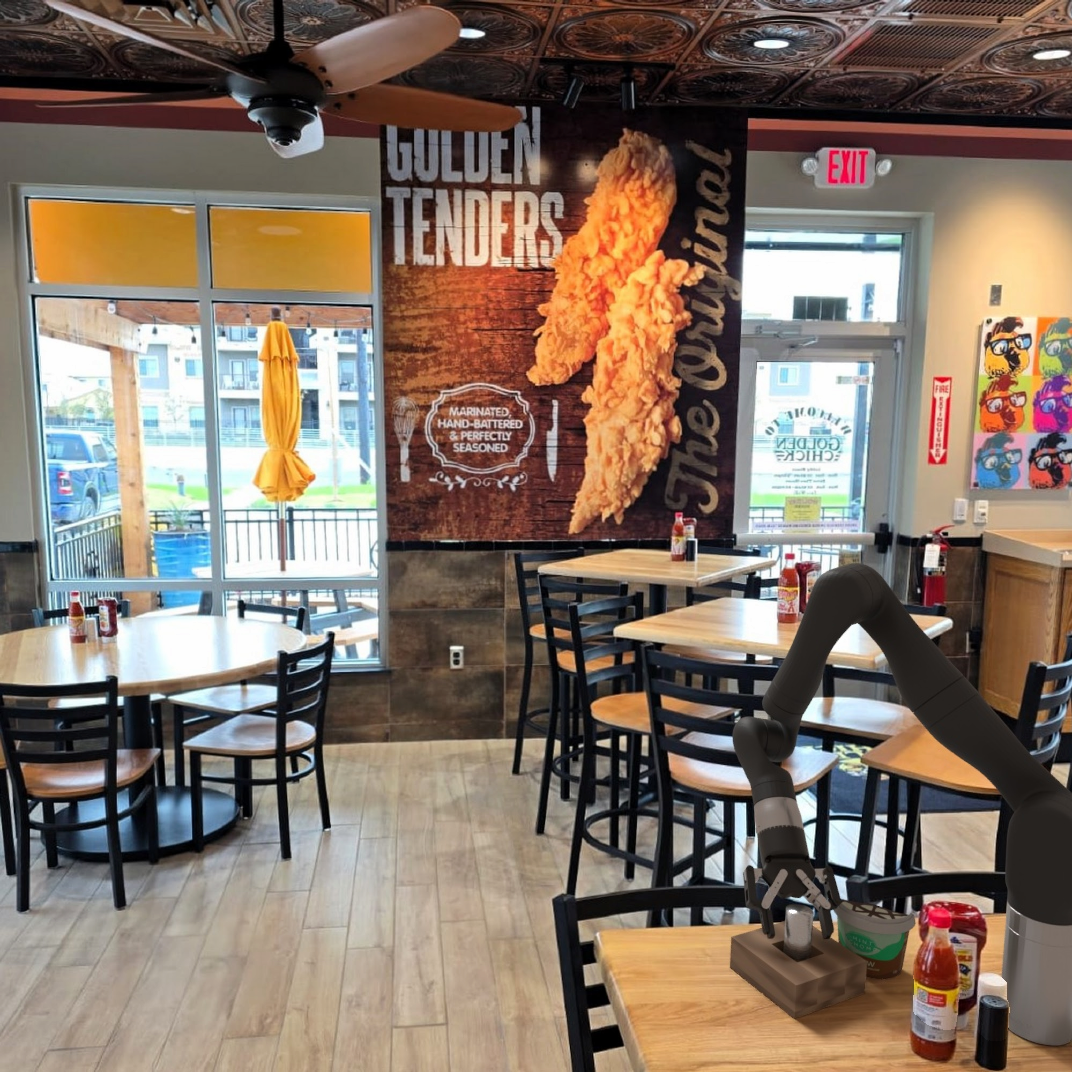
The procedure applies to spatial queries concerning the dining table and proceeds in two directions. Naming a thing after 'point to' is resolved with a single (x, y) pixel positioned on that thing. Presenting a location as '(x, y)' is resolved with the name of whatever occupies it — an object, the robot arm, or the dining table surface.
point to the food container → (875, 936)
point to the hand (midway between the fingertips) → (799, 937)
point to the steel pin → (798, 932)
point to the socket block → (798, 971)
